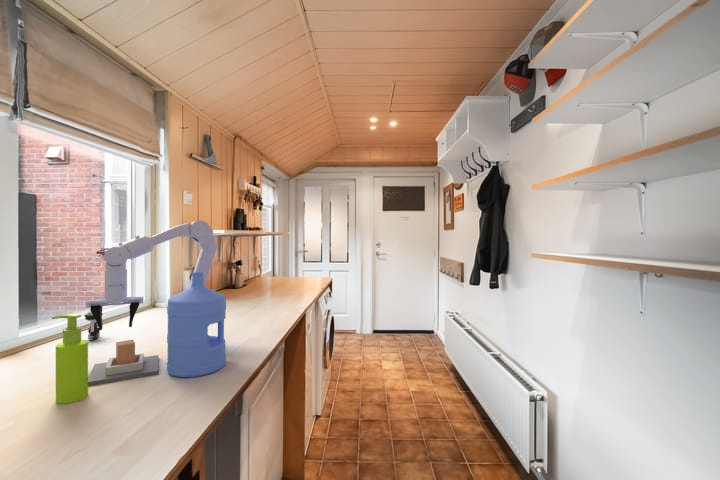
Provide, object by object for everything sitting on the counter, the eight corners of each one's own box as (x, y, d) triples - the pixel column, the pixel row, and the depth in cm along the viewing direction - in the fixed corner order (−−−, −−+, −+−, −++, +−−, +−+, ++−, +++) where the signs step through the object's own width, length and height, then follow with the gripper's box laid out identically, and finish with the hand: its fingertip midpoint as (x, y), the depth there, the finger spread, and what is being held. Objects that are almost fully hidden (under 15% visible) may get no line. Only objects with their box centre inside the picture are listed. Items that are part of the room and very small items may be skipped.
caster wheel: (98, 340, 123) (99, 313, 123) (80, 342, 121) (80, 314, 121) (104, 335, 130) (104, 309, 129) (87, 337, 127) (87, 310, 127)
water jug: (164, 382, 90) (164, 277, 89) (169, 362, 104) (169, 271, 104) (227, 373, 97) (228, 275, 96) (223, 355, 111) (224, 269, 110)
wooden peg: (132, 363, 100) (132, 339, 100) (134, 367, 97) (134, 342, 97) (116, 366, 98) (116, 342, 98) (117, 370, 95) (117, 345, 95)
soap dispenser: (64, 392, 84) (63, 311, 83) (93, 391, 84) (93, 311, 84) (44, 404, 78) (43, 317, 78) (76, 403, 78) (76, 317, 78)
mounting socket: (158, 358, 107) (158, 348, 107) (157, 374, 95) (157, 363, 95) (94, 367, 99) (94, 357, 99) (85, 386, 87) (85, 374, 87)
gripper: (143, 281, 114) (143, 322, 114) (88, 284, 107) (88, 327, 107) (143, 284, 108) (142, 327, 108) (84, 287, 101) (84, 333, 101)
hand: (115, 327), depth 107 cm, fingers open, 7 cm apart
